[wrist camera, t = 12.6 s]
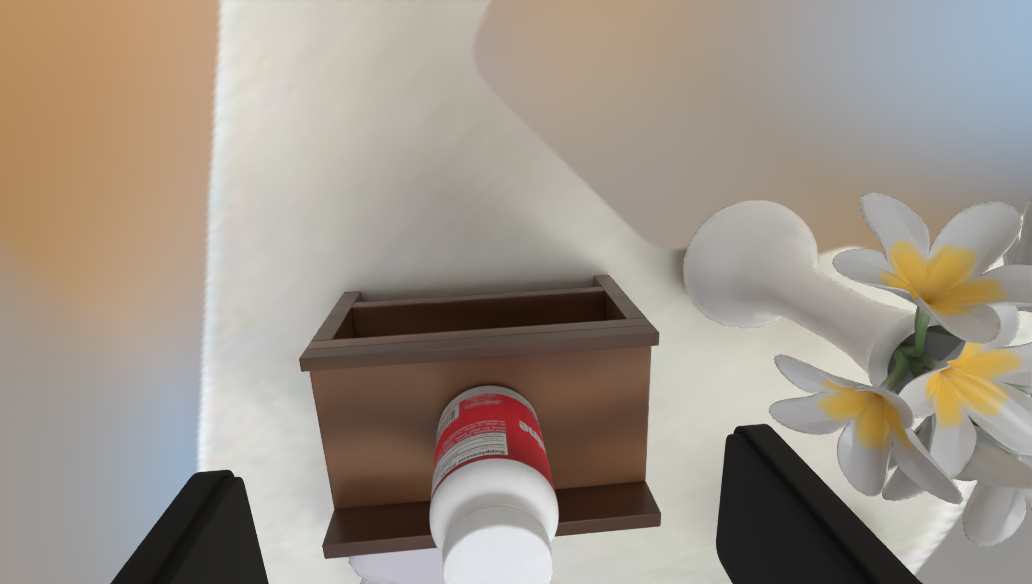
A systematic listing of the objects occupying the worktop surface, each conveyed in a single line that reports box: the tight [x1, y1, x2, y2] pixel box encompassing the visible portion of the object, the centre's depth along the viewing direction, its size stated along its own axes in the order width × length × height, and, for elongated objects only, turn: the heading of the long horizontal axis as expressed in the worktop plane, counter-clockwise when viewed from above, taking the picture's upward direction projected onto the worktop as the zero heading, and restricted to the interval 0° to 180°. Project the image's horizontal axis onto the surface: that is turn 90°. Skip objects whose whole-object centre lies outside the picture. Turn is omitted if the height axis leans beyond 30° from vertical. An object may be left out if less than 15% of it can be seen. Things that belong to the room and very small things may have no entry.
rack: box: [299, 275, 661, 559], centre depth 36 cm, size 12×20×13 cm, turn 93°
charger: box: [349, 548, 444, 584], centre depth 45 cm, size 5×9×15 cm
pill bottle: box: [429, 386, 559, 584], centre depth 28 cm, size 6×6×11 cm
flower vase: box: [683, 193, 1032, 546], centre depth 30 cm, size 13×18×25 cm
